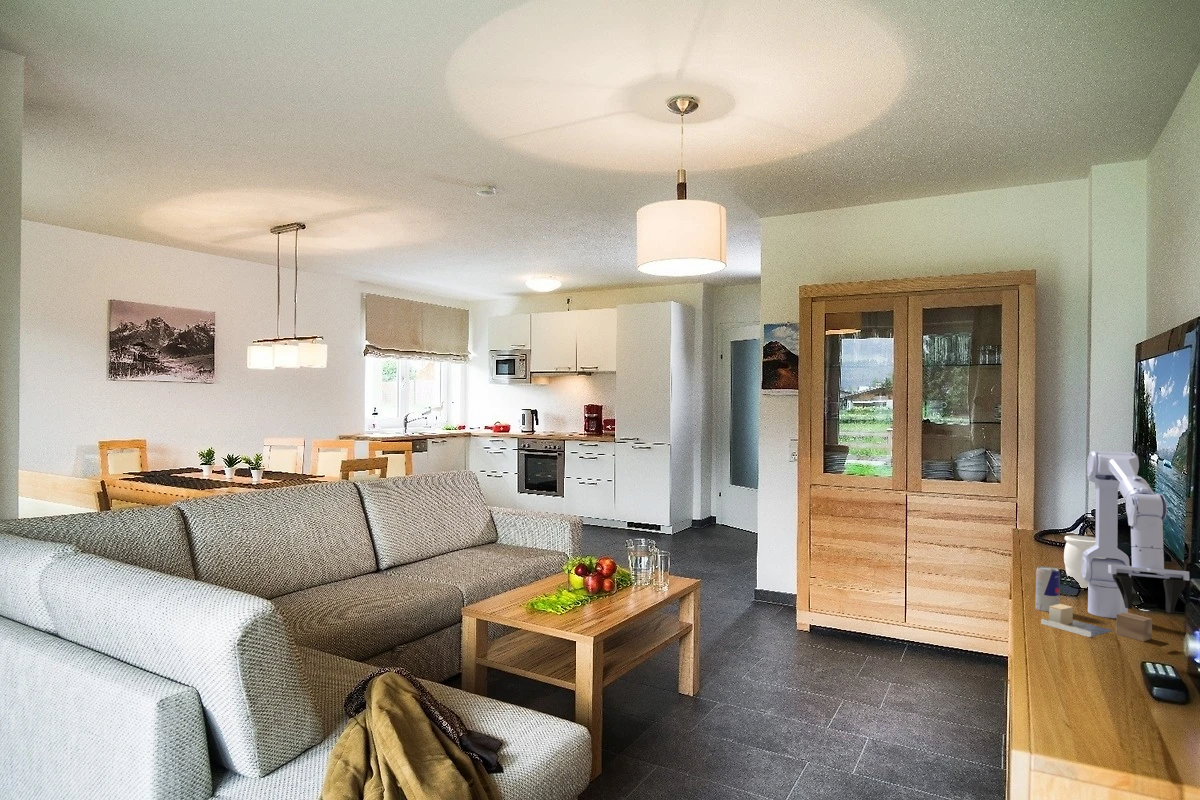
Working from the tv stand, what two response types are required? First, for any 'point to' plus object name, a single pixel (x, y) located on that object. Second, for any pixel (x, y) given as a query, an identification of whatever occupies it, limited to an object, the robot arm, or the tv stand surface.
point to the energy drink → (1047, 588)
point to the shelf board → (1077, 627)
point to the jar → (1077, 556)
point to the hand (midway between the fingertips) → (1149, 610)
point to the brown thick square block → (1134, 626)
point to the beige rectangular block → (1061, 614)
